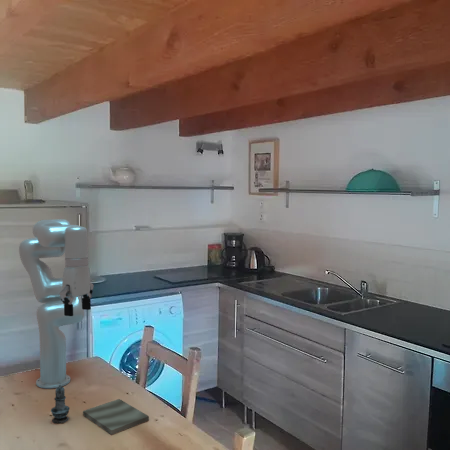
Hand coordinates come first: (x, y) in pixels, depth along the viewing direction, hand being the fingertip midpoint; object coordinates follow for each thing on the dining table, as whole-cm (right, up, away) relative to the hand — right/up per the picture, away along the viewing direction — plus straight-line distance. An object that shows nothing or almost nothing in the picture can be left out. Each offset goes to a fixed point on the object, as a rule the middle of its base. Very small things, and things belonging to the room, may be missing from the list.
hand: (77, 312), depth 170 cm
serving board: (+14, -34, -5) cm, 37 cm away
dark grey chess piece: (-4, -34, -7) cm, 35 cm away
